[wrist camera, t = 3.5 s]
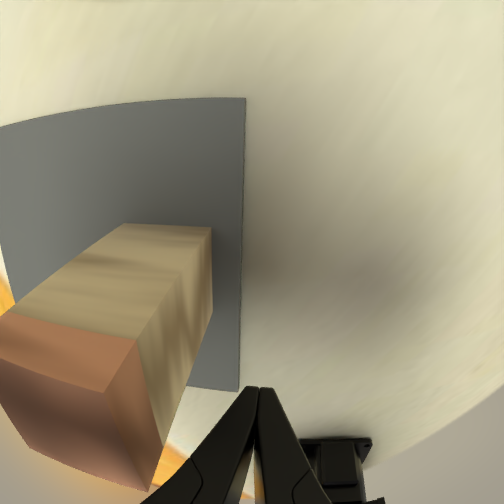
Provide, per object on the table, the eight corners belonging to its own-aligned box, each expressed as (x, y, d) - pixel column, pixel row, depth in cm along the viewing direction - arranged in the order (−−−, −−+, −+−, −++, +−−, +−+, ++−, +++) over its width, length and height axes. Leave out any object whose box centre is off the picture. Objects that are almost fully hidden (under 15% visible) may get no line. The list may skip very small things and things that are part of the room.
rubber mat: (238, 387, 21) (237, 392, 21) (34, 346, 22) (31, 349, 22) (245, 98, 14) (244, 97, 14) (-8, 130, 16) (-13, 130, 15)
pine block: (213, 311, 18) (147, 492, 8) (133, 302, 19) (29, 447, 8) (211, 227, 16) (103, 393, 6) (123, 223, 17) (-31, 344, 6)
